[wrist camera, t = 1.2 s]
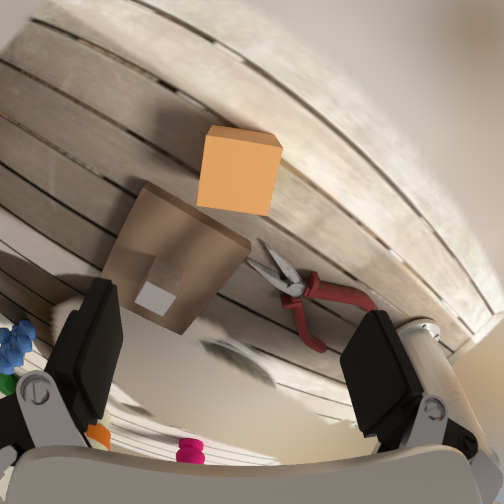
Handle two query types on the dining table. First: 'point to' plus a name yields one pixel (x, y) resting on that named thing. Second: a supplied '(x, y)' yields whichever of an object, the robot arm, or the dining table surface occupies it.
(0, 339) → the blue knobbed flower
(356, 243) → the dining table surface
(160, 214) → the board
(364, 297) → the pliers
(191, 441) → the pepper mill
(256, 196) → the matte orange cube
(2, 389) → the clamp
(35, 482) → the robot arm
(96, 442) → the reusable coffee cup
